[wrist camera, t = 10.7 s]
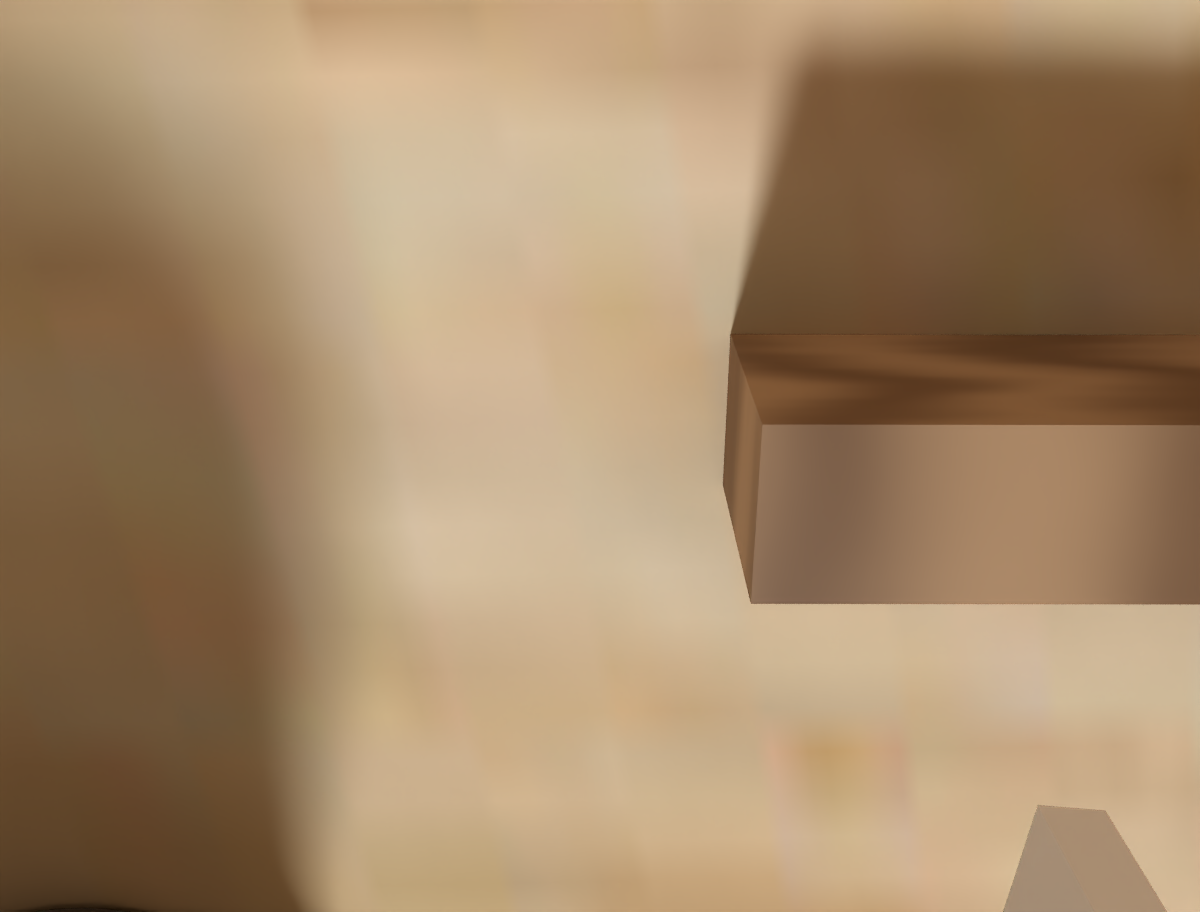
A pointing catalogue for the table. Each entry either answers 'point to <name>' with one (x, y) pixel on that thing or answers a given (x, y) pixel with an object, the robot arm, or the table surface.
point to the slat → (965, 468)
